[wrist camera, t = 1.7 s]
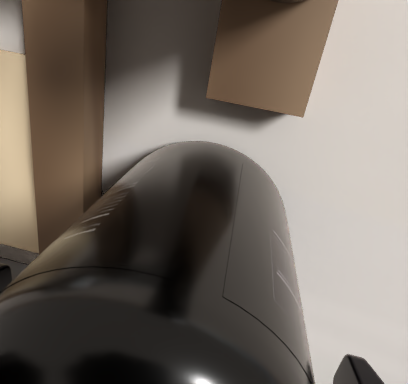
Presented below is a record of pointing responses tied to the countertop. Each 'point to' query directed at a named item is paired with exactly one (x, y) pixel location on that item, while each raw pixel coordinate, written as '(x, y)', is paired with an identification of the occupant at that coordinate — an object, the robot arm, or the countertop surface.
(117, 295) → the supplement bottle
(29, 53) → the press base
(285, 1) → the bar
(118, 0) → the countertop surface
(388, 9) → the countertop surface
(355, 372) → the robot arm
